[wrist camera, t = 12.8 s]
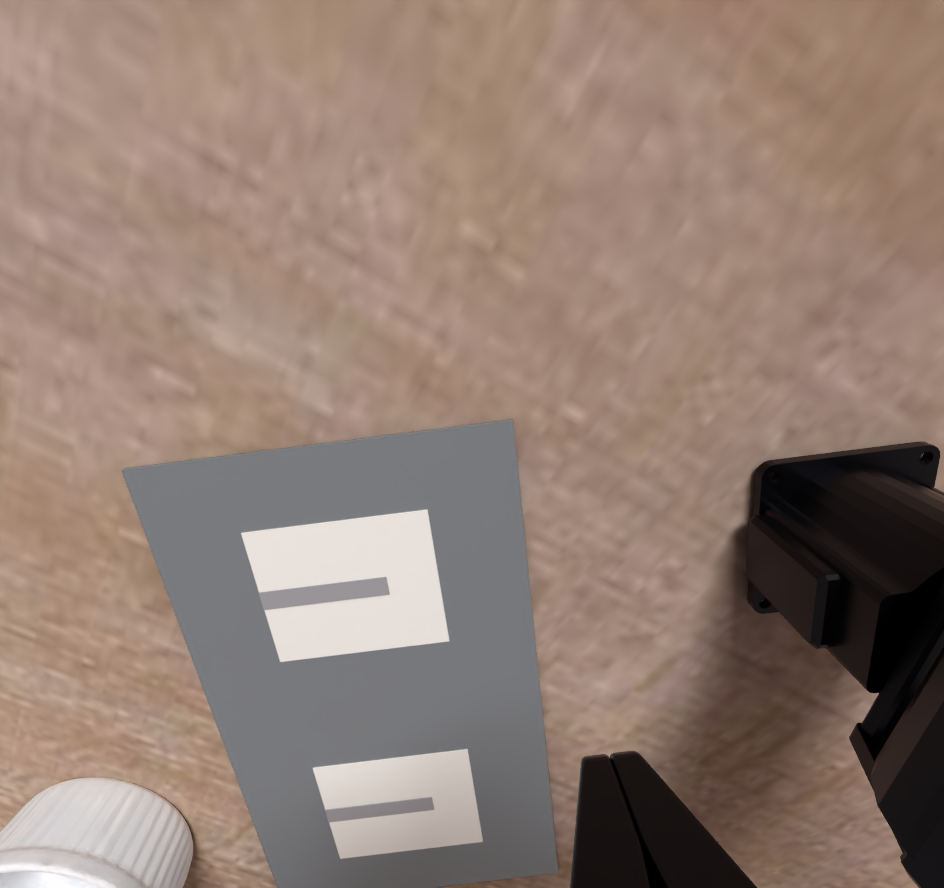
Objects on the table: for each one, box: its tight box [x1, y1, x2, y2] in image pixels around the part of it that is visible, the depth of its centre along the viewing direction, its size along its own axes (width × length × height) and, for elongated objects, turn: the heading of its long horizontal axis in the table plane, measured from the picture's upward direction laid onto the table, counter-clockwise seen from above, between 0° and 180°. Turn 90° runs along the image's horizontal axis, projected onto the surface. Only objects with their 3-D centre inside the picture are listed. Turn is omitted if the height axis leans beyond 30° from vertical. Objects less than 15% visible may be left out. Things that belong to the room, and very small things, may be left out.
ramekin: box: [0, 777, 193, 888], centre depth 23 cm, size 9×9×4 cm
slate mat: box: [122, 419, 558, 888], centre depth 22 cm, size 14×24×1 cm, turn 7°
